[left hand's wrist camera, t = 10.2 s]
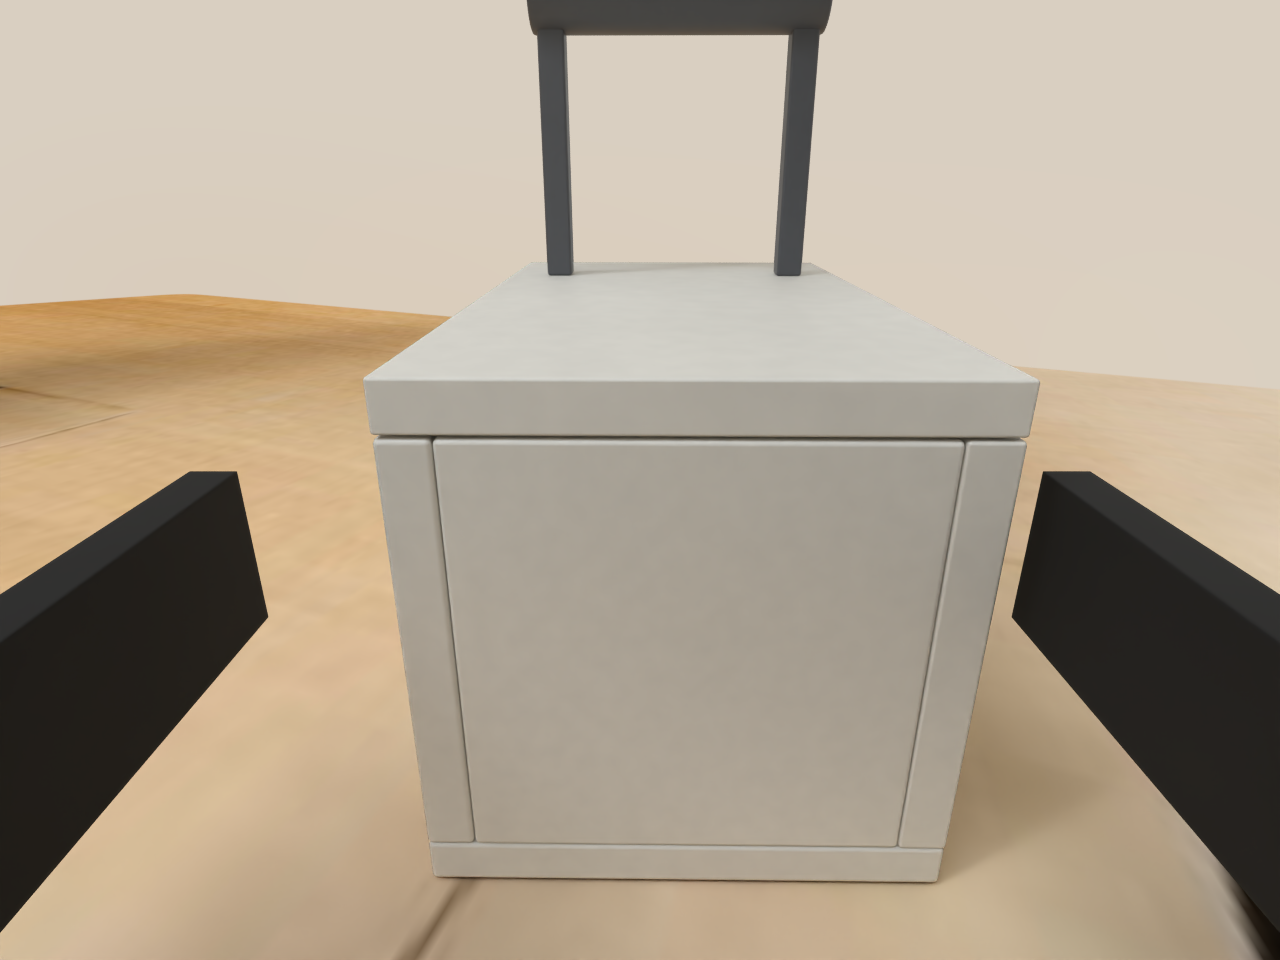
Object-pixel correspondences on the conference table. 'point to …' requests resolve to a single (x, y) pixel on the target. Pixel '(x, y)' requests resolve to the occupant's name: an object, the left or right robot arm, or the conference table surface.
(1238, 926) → the conference table surface
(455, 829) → the chest
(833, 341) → the lid
